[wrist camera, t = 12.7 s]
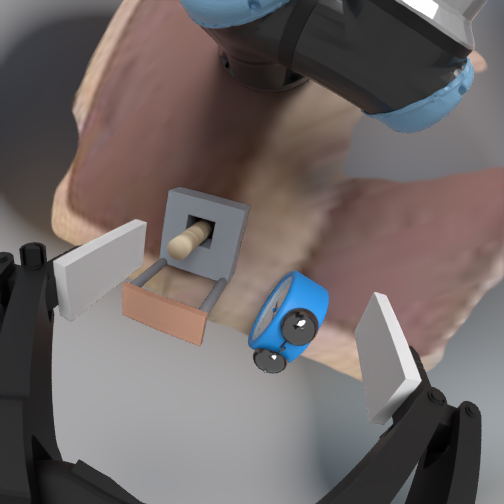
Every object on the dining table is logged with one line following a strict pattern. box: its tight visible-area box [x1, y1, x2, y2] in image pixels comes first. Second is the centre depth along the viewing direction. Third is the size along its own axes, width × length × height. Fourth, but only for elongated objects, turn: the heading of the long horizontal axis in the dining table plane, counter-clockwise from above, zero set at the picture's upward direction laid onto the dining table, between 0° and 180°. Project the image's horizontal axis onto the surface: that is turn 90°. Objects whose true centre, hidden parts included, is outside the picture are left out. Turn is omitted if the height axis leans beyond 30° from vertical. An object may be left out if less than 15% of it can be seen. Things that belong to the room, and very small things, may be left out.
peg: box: [167, 219, 216, 260], centre depth 40 cm, size 3×3×12 cm
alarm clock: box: [248, 271, 329, 373], centre depth 40 cm, size 13×6×15 cm, turn 150°
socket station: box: [123, 187, 250, 346], centre depth 39 cm, size 16×12×15 cm
